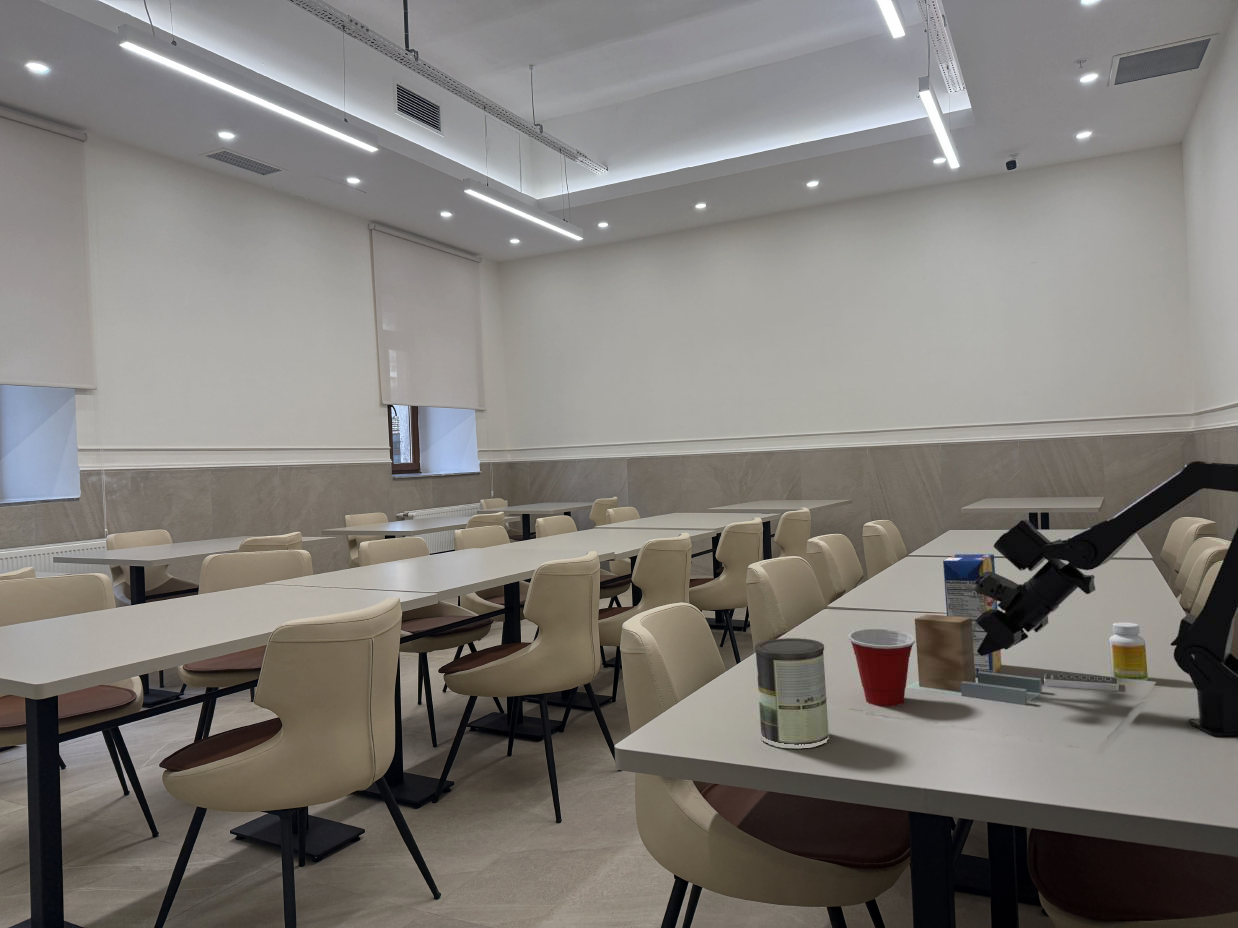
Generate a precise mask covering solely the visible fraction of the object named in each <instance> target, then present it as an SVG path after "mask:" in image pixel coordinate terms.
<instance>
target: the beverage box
mask: <svg viewBox="0 0 1238 928" xmlns="http://www.w3.org/2000/svg"><path fill="white" fill-rule="evenodd" d="M942 563H943V578H944V580H943V581H944V591H945V592H944V593H945V594H944V595H945V604H946V605H945V607H946V616H956V617H969V618H971V621H972V635H973V650H974V664H975V678H978V676H977V673H978V672H980V671H981V672H989V673H997V671H998V670H999V669H1000V668H1001V667H1002V664H1003V663H1002V655H1001V654H1002V652H1001V650H1002V649H1001V650H998V651H995V652H992V653H989V654H987V655H984V656H981V655H980V654H979V653H978V652H977V650H978V648H979V647H980V645H981V643H982V641H983V640H984V638H985V636H986V634H987V632H986V631H985V630H983V629H982V628H981V627H980V626H979V625H978V624H977V622H976V619H977V618H978V617H979V616H980V615H981V614H982V613H983V612H986V611H988V610H990V609H994V610H999V609H998V608H999V606H998V601H997V600H994V599H992V598H990V597H988V596H986V595H984V594H979V593H977V592H976V591H975V588H976V583H975V581H976V580H978V579H979V578H980V575H981V574H982V573H984V572H987V571H990V572H993V573H996V569H995V568H996V566H995V565H996V564H995V554H993V553H992V554H990V553H989V554H986V553H985V554H983V553H982V554H980V553H979V554H973V553H972V554H971V553H969V554H965V553H964V554H962V553H961V554H960V553H959V554H957V553H956V554H954V555H952V556H950V557H948V558H946V559H944V560H943V561H942Z"/></svg>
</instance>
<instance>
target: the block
mask: <svg viewBox="0 0 1238 928" xmlns="http://www.w3.org/2000/svg"><path fill="white" fill-rule="evenodd" d="M914 629H915V631H914V632H915V643H916V645H915V646H916V657H917V658H916V659H917V673H918V680H919V687H926V688H933V689H940V690H947V691H955V692H961V682H963V681H966V682H974V683H977V680H976V679H977V677H975V664H974V650H973V635H972V621H971V618H969V617H956V616H947V615H941V614H939V615H938V614H928V613H927V614H924V615H921V616H919V617H915V618H914Z"/></svg>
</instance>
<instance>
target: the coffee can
mask: <svg viewBox="0 0 1238 928" xmlns="http://www.w3.org/2000/svg"><path fill="white" fill-rule="evenodd" d="M754 651H755V658H756V660H755V662H756V674H757V675H756V676H757V688H758V689H757V690H758V702H759V703H758V705H759V721H760V734H762V736H763V737H765V738H766V739H768V740H771V741H774V742H778V743H784V744H794V745H799V744H801V745H802V744H804V745H805V744H812V743H817V742H821V741H823V740H825V739H827V738H828V736H829V737H830V735H829V734H830V732H829V721H828V704H827V702H828V701H827V687H826V671H825V656H824V655H825V654H824V651H825V645H824V643H822V642H820V641H818V640H815V639H810V638H809V639H808V638H796V637H795V638H793V637H792V638H791V637H790V638H788V637H787V638H776V639H775V638H774V639H769V640H764V641H760V642H758V643H757V644H755V645H754Z"/></svg>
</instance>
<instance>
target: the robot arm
mask: <svg viewBox="0 0 1238 928" xmlns="http://www.w3.org/2000/svg"><path fill="white" fill-rule="evenodd" d="M1204 489H1208V490H1215V491H1216V490H1217V491H1224V492H1232V493H1238V464H1237V463H1221V462H1219V463H1217V462H1209V461H1207V460H1196V461H1190V462H1189V463H1186V464H1185V465H1184V466H1183V467H1182V468H1181V470H1180V471H1178V472H1177V473H1175V474H1174V475H1172V476H1171V477H1170V478H1168V479H1166V480H1165V481H1163V482H1162V483H1161V484H1159V485H1158V486H1156V487H1155V488H1153V489H1152V490H1150V491H1149V492H1148V493H1146V494H1145V495H1143V496H1142V497H1140V498H1138V499H1137V500H1135V501H1134V502H1133V503H1132V504H1130V505H1129V506H1127V507H1125V508H1124V509H1123V510H1122V511H1120V512H1118V513H1117V514H1116V515H1115V516H1112V517H1110V518H1108V519H1106V520H1104V521H1101V522H1099V523H1097V524H1095V525H1092V526H1089V527H1088V528H1086V529H1084V530H1081V531H1080V532H1077V533H1075V534H1073V535H1071V536H1069V537H1068V538H1067V539H1063V540H1062V539H1057V540H1053V541H1050V540H1049V539H1048V538H1047V537H1046V536H1045V535H1044V534H1042V533H1041V532H1040V531H1039V530H1038V529H1036V527H1035V526H1034V525H1033V523H1031V522H1030V521H1029V520H1027V519H1021V520H1019V522H1018V523H1017V524H1016V525H1014V526H1013V527H1011V528H1010V529H1009V530H1008V531H1006V532H1004V533H1003V534H1002V535H1001V536H999V538H998V539H997V540H996V541H995V542H994V544H993V548H994V549H996V550H997V552H998V553H1000V554H1001V555H1002V556H1003V557H1004V558H1005V559H1007V560H1008V561H1009V562H1010V563H1011V564H1012V565H1013V566H1014V567H1015V568H1016V569H1018V570H1019V571H1025V570H1028V571H1029V572H1032V571H1034V570H1036V569H1037V568H1038V567H1039V566H1040V565H1042V564H1043V563H1044V561H1046V560H1047V562H1046V563H1044V565H1043V566H1042V567H1040V569H1038V570H1037V571H1036V573H1034V575H1032V577H1030V578H1029V579H1028V580H1027V581H1025V582H1023V583H1020V584H1018V583H1017V582H1015V581H1013V580H1010V579H1008V578H1007V577H1004V576H1002V575H1000V574H998V573H996V572H995V573H993V572H990V571H987V572H984V573H982V574H981V575H980V578H979V579H978V580H976V581H975V583H976V588H975V591H976V592H977V593H979V594H984V595H986V596H988V597H990V598H992V599H994V600H997V602H999V603H997V607H998V608H1000V609H998V610H994V609H990V610H988V611H986V612H983V613H982V614H981V615H980V616H979V617H978V618H977V619H976V622H977V624H978V625H979V626H980V627H981V628H982V629H983V630H985V631H986V632H987V634H986V636H985V638H984V640H983V641H982V643H981V645H980V647H979V648H978V650H977V652H978V653H979V654H980V655H981V656H984V655H987V654H989V653H992V652H995V651H998V650H1003V649H1004V650H1006V651H1007V650H1008V649H1011V648H1012V647H1013V646H1016V645H1018V644H1020V643H1021V642H1023V641H1025V640H1026V639H1028V638H1029V636H1028V634H1027V633H1029V632H1031V631H1034V632H1035V633H1038V632H1040V631H1041V630H1043V629H1044V628H1045V627H1046V626H1047V625H1049V615H1050V614H1051V613H1053V612H1055V611H1056V610H1057V609H1059V607H1060V605H1061V604H1062V603H1063V602H1064V601H1066V599H1068V597H1070V596H1071V595H1072V594H1073V593H1074V592H1075V591H1076V590H1077V589H1078V588H1079V589H1080V591H1082V592H1083V593H1084V594H1086V595H1090V594H1091V593H1093V592H1095V591H1096V585H1095V575H1094V574H1085V573H1083V571H1081V570H1084V571H1091V570H1094V569H1097V568H1098V567H1100V566H1103V565H1105V564H1107V563H1109V561H1111V560H1112V558H1114V557H1115V555H1117V554H1118V553H1119V552H1120V551H1121V550H1122V549H1123V548H1124V547H1125V546H1126V545H1127V543H1128V542H1130V540H1131V539H1133V538H1134V536H1135V535H1136V534H1137V533H1140V532H1141V531H1142V530H1143V529H1145V528H1147V527H1148V526H1150V525H1151V524H1152V523H1154V522H1156V521H1157V520H1159V519H1160V518H1162V517H1163V516H1165V515H1167V513H1169V512H1171V511H1172V510H1173V509H1175V508H1177V507H1178V506H1179V505H1180V506H1181V504H1182V503H1185V502H1186V501H1188V499H1190V498H1192V497H1193V496H1195V495H1196V494H1198V493H1199V492H1201V491H1202V490H1204ZM1063 561H1065V562H1067V563H1065V562H1063ZM1003 611H1004V612H1003ZM1237 614H1238V526H1236V529H1235V533H1234V534H1233V536H1232V539H1231V541H1230V544H1229V546H1228V549H1227V551H1226V553H1225V555H1224V558H1223V561H1222V563H1221V565H1220V568H1219V570H1218V573H1217V575H1216V577H1215V580H1214V582H1213V585H1212V587H1211V589H1210V591H1209V594H1208V596H1207V597H1206V601H1205V603H1204V605H1203V607H1202V610H1201V611H1200V613H1199V614H1198V615H1197V616H1196V615H1194V614H1191V613H1190V612H1188V613H1187V614H1186V615H1185V616H1184V617H1183V618H1182V619H1181V620H1180V622H1179V627H1178V632H1177V636H1176V637H1175V639H1173V640H1172V641H1171V643H1170V646H1171V647H1172V646H1175V647H1174V651H1173V659H1174V661H1175V663H1176V664H1177V666H1178V668H1179V669H1181V671H1183V673H1185V674H1187V675H1189V677H1190V679H1191V681H1192V684H1193V685H1194V687H1195V689H1196V692H1197V693H1196V694H1197V704H1198V705H1197V706H1198V718H1195V717H1193V718H1188V719H1187V721H1188V723H1189V724H1190V725H1193V726H1194V727H1196V728H1198V729H1199V730H1202V731H1203V732H1204V733H1205V732H1206V733H1207V734H1209V735H1211V736H1215V737H1217V736H1220V737H1221V736H1222V737H1223V736H1224V737H1225V736H1227V737H1228V736H1235V737H1236V736H1237V737H1238V657H1237V656H1236V655H1234V654H1233V653H1232V652H1231V649H1232V642H1233V637H1234V632H1235V631H1234V629H1235V621H1236V620H1235V619H1236V616H1237ZM1025 631H1026V632H1027V633H1026V632H1025Z"/></svg>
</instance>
